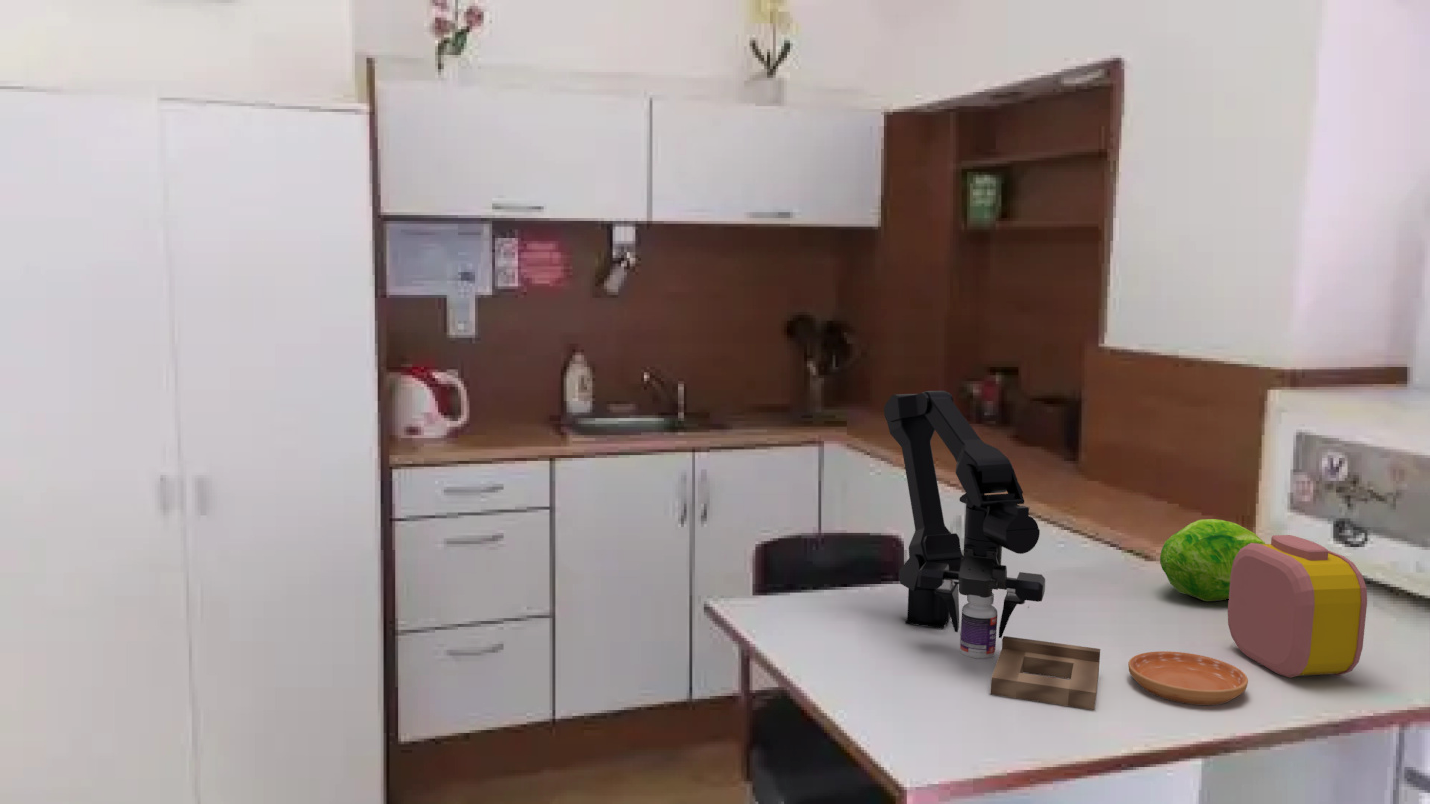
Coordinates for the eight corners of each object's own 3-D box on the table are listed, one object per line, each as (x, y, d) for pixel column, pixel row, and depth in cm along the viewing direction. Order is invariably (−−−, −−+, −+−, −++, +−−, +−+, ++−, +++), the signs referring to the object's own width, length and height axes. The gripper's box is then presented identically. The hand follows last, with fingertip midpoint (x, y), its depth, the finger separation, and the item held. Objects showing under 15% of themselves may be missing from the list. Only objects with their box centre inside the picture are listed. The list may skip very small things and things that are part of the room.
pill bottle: (995, 661, 172) (999, 599, 171) (959, 657, 174) (962, 596, 172) (994, 648, 178) (997, 589, 176) (959, 645, 179) (962, 586, 177)
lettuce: (1213, 571, 220) (1285, 604, 206) (1131, 586, 209) (1202, 622, 196) (1228, 500, 216) (1302, 529, 203) (1145, 512, 205) (1218, 543, 192)
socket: (990, 694, 159) (991, 667, 159) (1002, 661, 172) (1003, 636, 172) (1094, 710, 155) (1096, 682, 154) (1098, 674, 167) (1100, 649, 167)
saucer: (1112, 667, 171) (1113, 648, 171) (1218, 670, 171) (1220, 651, 171) (1149, 710, 156) (1150, 689, 155) (1266, 713, 155) (1268, 692, 155)
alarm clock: (1364, 686, 165) (1377, 558, 162) (1296, 690, 163) (1308, 560, 160) (1281, 642, 183) (1291, 526, 180) (1219, 645, 181) (1228, 527, 178)
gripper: (912, 542, 169) (908, 642, 171) (1041, 556, 162) (1035, 660, 165) (926, 525, 179) (922, 620, 181) (1048, 538, 173) (1042, 636, 175)
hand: (978, 634), depth 175 cm, fingers open, 6 cm apart
